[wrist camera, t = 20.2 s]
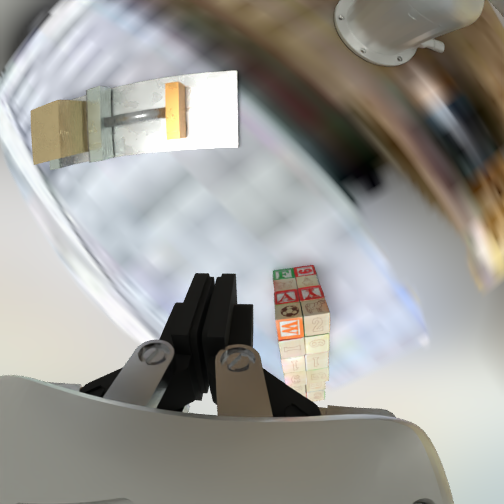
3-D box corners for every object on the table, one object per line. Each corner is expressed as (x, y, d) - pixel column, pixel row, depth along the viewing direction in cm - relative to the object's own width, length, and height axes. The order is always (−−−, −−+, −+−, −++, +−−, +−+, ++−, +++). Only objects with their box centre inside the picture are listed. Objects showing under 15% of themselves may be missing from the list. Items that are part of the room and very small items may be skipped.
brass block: (97, 101, 30) (58, 99, 22) (99, 149, 33) (61, 158, 25) (70, 109, 30) (30, 110, 22) (73, 154, 33) (33, 164, 25)
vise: (237, 72, 30) (234, 65, 26) (238, 146, 35) (235, 148, 30) (64, 104, 31) (46, 104, 27) (67, 164, 35) (50, 170, 31)
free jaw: (185, 74, 29) (178, 69, 26) (186, 149, 33) (180, 151, 30) (96, 91, 29) (84, 90, 27) (99, 159, 33) (87, 162, 31)
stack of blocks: (317, 362, 50) (327, 414, 39) (285, 367, 50) (288, 419, 39) (313, 263, 41) (330, 313, 30) (271, 269, 42) (275, 321, 31)
